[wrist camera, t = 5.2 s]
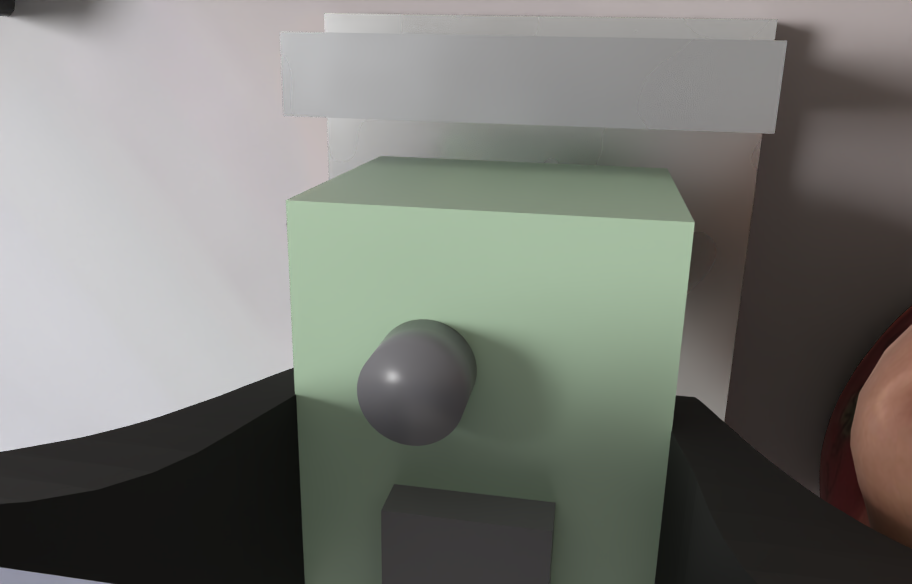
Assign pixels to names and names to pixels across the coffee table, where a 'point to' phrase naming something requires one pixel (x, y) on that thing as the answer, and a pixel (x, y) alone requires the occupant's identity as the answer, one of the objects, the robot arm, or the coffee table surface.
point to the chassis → (566, 119)
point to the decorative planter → (874, 438)
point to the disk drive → (6, 7)
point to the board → (486, 369)
